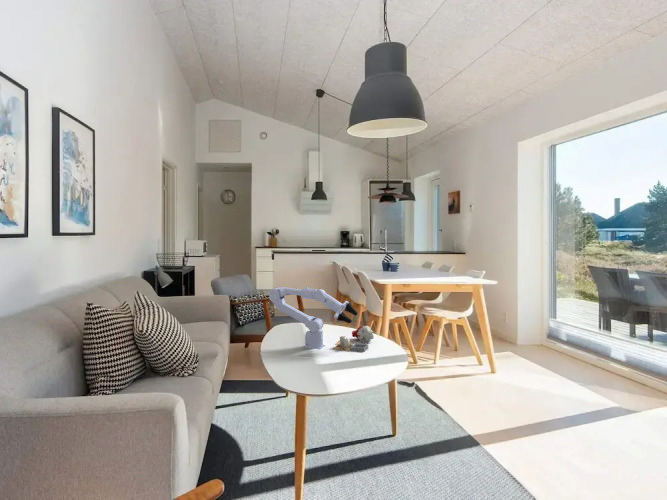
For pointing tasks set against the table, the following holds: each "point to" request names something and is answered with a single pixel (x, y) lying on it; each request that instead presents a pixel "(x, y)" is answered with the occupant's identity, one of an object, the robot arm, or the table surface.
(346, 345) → the pale grey capsule
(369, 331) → the white and red lump
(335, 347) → the oak box
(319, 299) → the robot arm
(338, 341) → the oak lid
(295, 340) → the table surface
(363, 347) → the slate dish
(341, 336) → the grey capsule cylinder
